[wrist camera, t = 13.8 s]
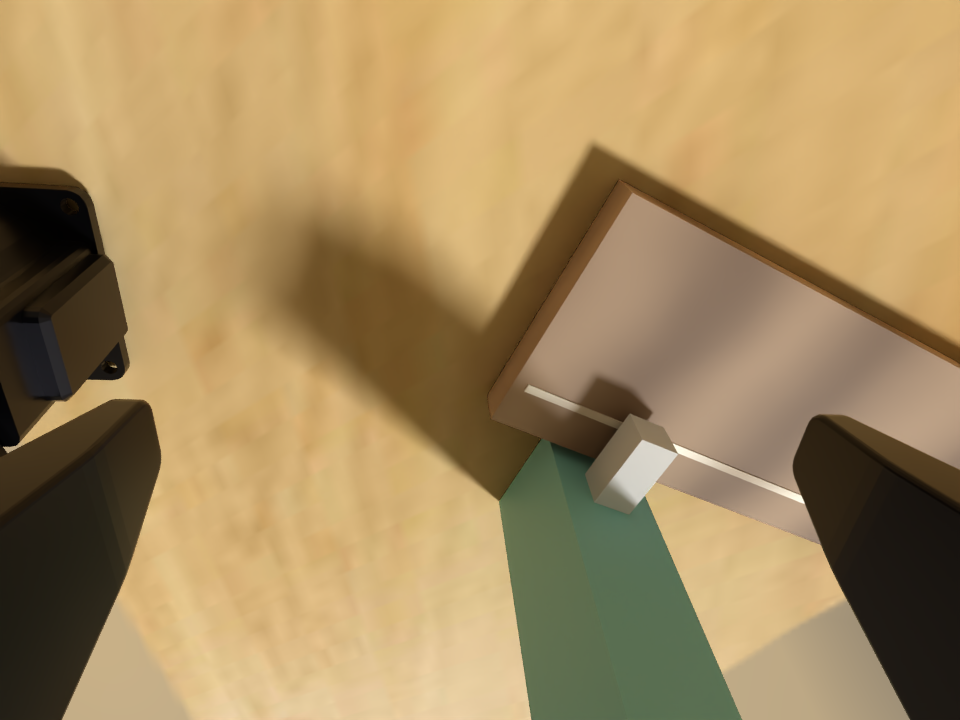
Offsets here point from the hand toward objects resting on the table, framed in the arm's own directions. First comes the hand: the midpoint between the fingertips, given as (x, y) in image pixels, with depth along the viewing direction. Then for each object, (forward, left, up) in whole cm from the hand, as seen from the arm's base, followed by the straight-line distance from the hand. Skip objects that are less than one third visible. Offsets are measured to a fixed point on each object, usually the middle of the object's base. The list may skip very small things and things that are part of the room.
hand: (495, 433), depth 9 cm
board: (+13, -8, -13) cm, 20 cm away
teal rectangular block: (+6, -11, -13) cm, 18 cm away
